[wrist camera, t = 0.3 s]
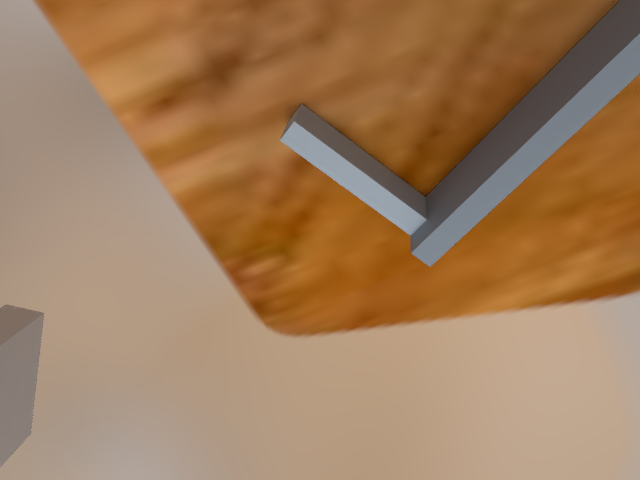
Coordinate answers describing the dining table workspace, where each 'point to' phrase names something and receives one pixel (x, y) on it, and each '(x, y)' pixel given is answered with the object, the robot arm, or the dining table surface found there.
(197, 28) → the dining table surface
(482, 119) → the dining table surface
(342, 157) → the seat channel
